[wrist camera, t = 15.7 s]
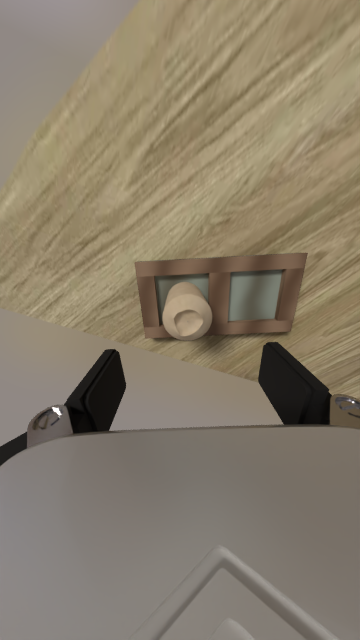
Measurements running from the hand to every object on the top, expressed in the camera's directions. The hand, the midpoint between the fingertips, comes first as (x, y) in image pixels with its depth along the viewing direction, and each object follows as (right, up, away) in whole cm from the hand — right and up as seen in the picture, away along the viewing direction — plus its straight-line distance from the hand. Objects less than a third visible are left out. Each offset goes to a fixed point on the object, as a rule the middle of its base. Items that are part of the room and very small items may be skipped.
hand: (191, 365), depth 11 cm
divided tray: (+5, +7, +17) cm, 19 cm away
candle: (0, +6, +16) cm, 17 cm away
